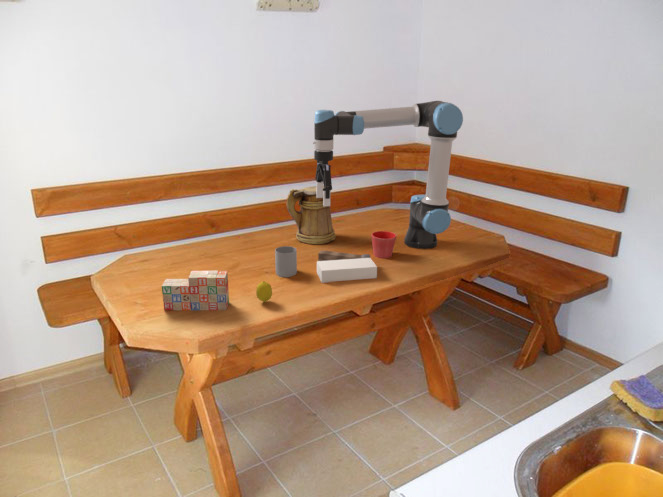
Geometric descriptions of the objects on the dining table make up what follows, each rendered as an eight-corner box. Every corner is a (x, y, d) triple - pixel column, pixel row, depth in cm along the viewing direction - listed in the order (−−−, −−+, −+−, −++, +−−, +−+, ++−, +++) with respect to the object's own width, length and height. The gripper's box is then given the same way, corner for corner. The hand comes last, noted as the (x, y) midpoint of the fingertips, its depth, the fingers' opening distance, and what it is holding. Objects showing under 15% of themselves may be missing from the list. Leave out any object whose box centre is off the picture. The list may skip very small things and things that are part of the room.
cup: (293, 278, 209) (293, 254, 205) (273, 276, 210) (272, 252, 207) (298, 270, 217) (298, 247, 213) (279, 268, 218) (278, 245, 215)
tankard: (342, 241, 250) (343, 189, 241) (295, 248, 240) (294, 194, 232) (325, 230, 265) (325, 181, 257) (281, 237, 256) (279, 185, 247)
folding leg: (371, 265, 222) (371, 254, 220) (368, 268, 218) (369, 257, 216) (321, 258, 228) (321, 248, 226) (318, 262, 224) (318, 251, 223)
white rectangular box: (369, 269, 218) (370, 257, 217) (376, 278, 209) (377, 266, 208) (316, 272, 214) (316, 261, 212) (321, 282, 205) (321, 270, 203)
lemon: (257, 299, 191) (256, 278, 188) (272, 298, 191) (272, 278, 188) (256, 305, 186) (255, 284, 183) (272, 305, 186) (271, 284, 183)
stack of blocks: (163, 311, 181) (160, 277, 177) (168, 303, 187) (164, 270, 183) (227, 310, 182) (225, 277, 178) (229, 302, 188) (227, 270, 184)
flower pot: (397, 253, 237) (398, 232, 233) (391, 261, 227) (393, 239, 224) (374, 250, 240) (375, 229, 236) (367, 258, 230) (368, 237, 227)
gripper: (308, 145, 224) (308, 194, 231) (321, 155, 201) (320, 210, 208) (326, 144, 225) (325, 194, 232) (340, 155, 202) (339, 209, 210)
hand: (323, 201), depth 220 cm, fingers open, 13 cm apart
